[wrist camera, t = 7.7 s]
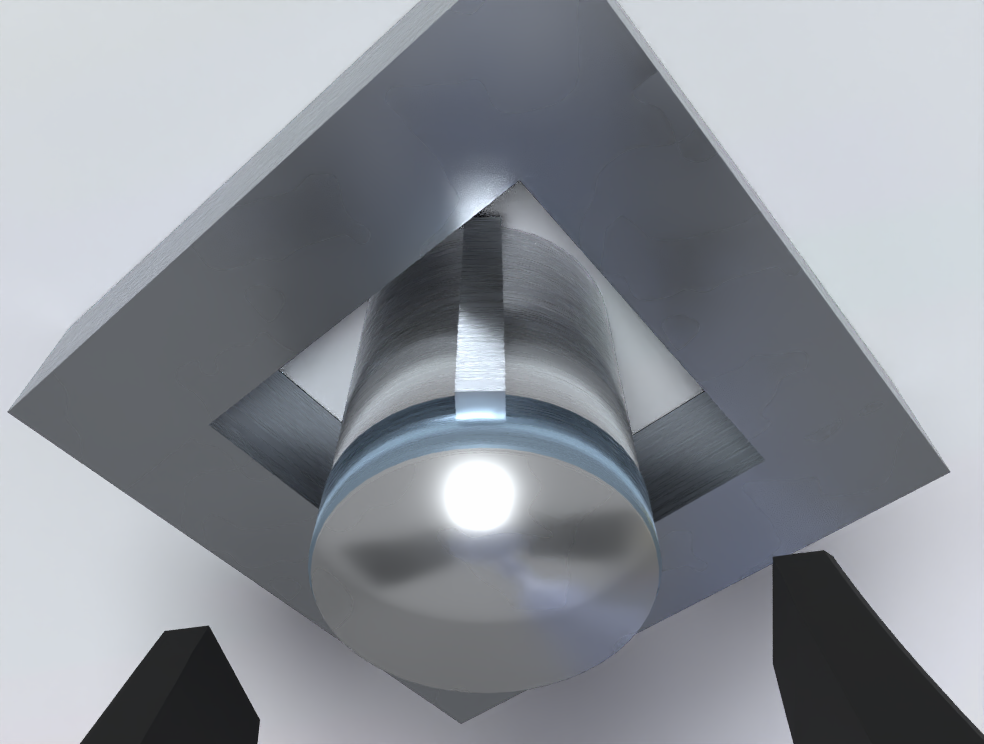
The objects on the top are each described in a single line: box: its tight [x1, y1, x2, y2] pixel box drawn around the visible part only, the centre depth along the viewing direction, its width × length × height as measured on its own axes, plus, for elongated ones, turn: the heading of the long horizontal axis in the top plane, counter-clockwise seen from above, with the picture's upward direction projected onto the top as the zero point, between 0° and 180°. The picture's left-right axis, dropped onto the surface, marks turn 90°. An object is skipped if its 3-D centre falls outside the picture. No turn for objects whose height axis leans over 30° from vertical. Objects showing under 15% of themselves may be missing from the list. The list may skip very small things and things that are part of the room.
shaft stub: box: [308, 217, 662, 693], centre depth 14 cm, size 5×5×6 cm
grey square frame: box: [8, 0, 950, 724], centre depth 16 cm, size 11×11×2 cm
